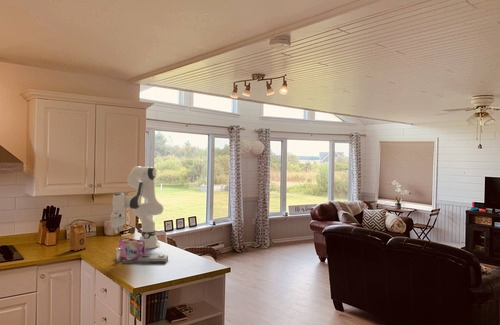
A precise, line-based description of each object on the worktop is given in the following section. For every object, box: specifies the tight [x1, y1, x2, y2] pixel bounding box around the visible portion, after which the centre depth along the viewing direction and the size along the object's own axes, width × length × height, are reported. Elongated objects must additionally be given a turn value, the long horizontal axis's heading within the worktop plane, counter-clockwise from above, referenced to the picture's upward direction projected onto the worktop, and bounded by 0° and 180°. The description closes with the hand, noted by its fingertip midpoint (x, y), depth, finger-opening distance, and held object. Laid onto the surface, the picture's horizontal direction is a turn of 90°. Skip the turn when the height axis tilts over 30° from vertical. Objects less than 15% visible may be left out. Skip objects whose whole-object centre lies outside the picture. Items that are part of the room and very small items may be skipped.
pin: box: [115, 247, 122, 263], centre depth 279 cm, size 4×4×10 cm
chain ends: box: [121, 254, 169, 265], centre depth 276 cm, size 9×32×5 cm, turn 89°
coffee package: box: [69, 223, 87, 252], centre depth 316 cm, size 10×12×22 cm
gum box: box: [118, 237, 146, 259], centre depth 290 cm, size 24×8×14 cm, turn 57°
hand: (118, 232), depth 279 cm, fingers open, 8 cm apart
